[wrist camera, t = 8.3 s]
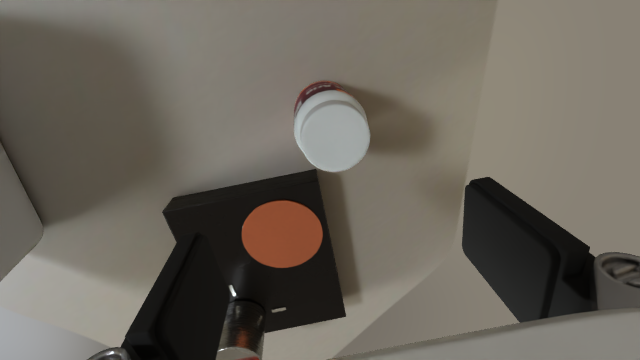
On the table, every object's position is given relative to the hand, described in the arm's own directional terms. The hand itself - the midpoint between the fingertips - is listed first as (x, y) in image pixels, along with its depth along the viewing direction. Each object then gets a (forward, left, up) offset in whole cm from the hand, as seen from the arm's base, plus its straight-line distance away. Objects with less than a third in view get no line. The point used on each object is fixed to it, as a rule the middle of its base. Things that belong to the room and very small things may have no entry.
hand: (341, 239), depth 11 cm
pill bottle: (-1, +1, -16) cm, 16 cm away
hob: (+12, -7, -16) cm, 21 cm away
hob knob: (+17, -10, -13) cm, 24 cm away
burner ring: (+8, -4, -13) cm, 16 cm away
